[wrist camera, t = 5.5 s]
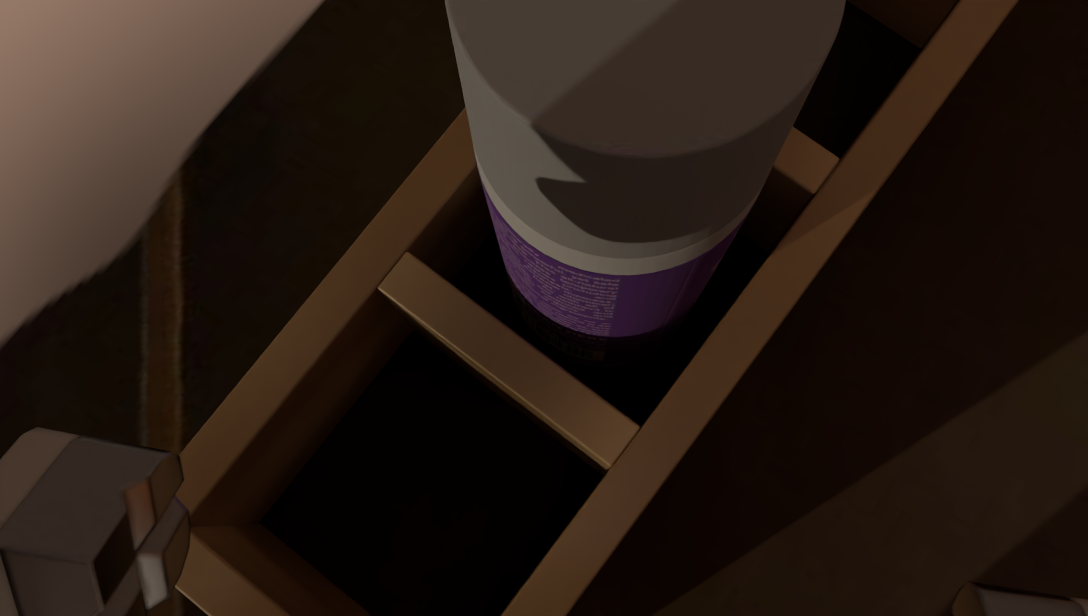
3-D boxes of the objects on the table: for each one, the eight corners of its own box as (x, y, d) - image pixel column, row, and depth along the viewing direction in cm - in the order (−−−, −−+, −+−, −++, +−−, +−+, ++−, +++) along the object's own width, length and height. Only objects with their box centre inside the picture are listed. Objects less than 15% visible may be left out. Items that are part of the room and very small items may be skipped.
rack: (203, 529, 25) (111, 535, 20) (726, -118, 28) (759, -253, 23) (458, 743, 24) (428, 804, 19) (974, 43, 27) (1064, -62, 22)
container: (720, 337, 25) (925, 98, 11) (541, 391, 25) (495, 223, 10) (662, 168, 26) (777, -270, 12) (489, 218, 26) (382, -160, 11)
